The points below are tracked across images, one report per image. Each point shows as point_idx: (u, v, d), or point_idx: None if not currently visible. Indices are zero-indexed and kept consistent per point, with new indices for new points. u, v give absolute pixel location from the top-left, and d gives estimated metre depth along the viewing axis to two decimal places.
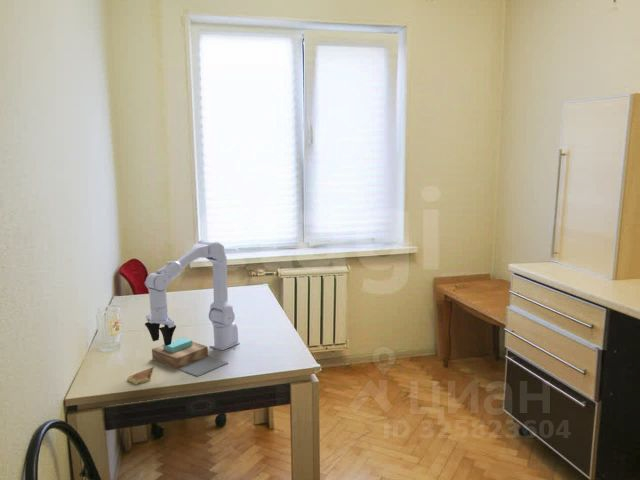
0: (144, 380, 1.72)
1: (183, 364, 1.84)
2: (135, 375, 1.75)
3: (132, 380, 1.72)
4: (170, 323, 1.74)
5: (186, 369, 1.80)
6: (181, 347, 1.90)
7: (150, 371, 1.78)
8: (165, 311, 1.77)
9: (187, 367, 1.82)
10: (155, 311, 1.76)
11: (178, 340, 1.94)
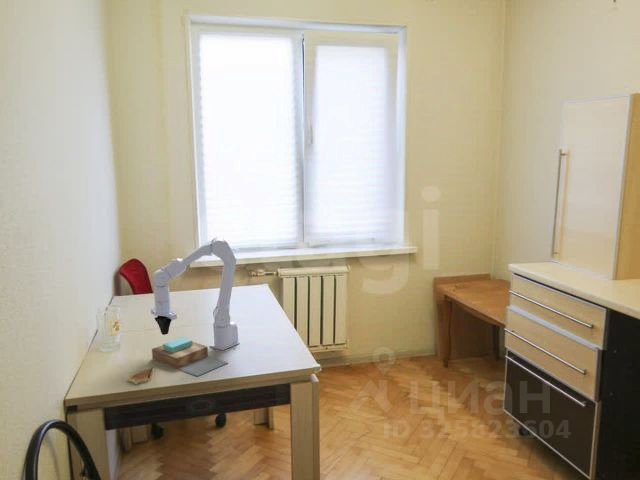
0: (144, 380, 1.72)
1: (183, 364, 1.84)
2: (135, 375, 1.75)
3: (132, 380, 1.72)
4: (173, 316, 1.90)
5: (186, 369, 1.80)
6: (181, 347, 1.90)
7: (150, 371, 1.78)
8: (168, 305, 1.94)
9: (187, 367, 1.82)
10: (159, 305, 1.92)
11: (178, 340, 1.94)
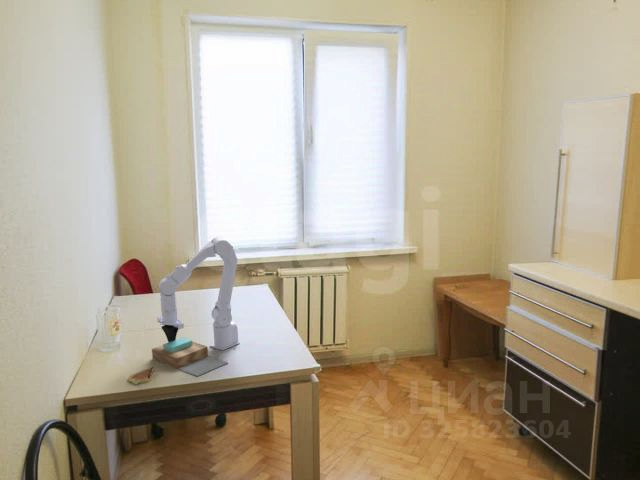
0: (144, 380, 1.72)
1: (183, 364, 1.84)
2: (135, 375, 1.75)
3: (132, 380, 1.72)
4: (180, 325, 1.88)
5: (186, 369, 1.80)
6: (181, 347, 1.90)
7: (150, 371, 1.78)
8: (175, 314, 1.92)
9: (187, 367, 1.82)
10: (166, 314, 1.90)
11: (178, 340, 1.94)
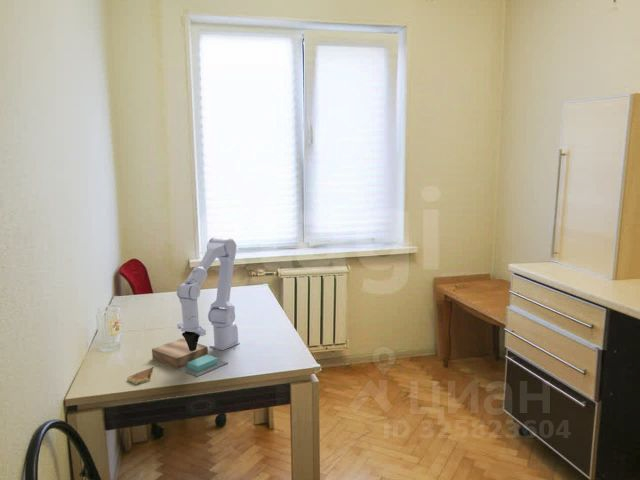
0: (144, 380, 1.72)
1: (183, 364, 1.84)
2: (135, 375, 1.75)
3: (132, 380, 1.72)
4: (202, 331, 1.80)
5: (186, 369, 1.80)
6: None
7: (150, 371, 1.78)
8: (196, 320, 1.83)
9: (187, 367, 1.82)
10: (187, 320, 1.81)
11: None
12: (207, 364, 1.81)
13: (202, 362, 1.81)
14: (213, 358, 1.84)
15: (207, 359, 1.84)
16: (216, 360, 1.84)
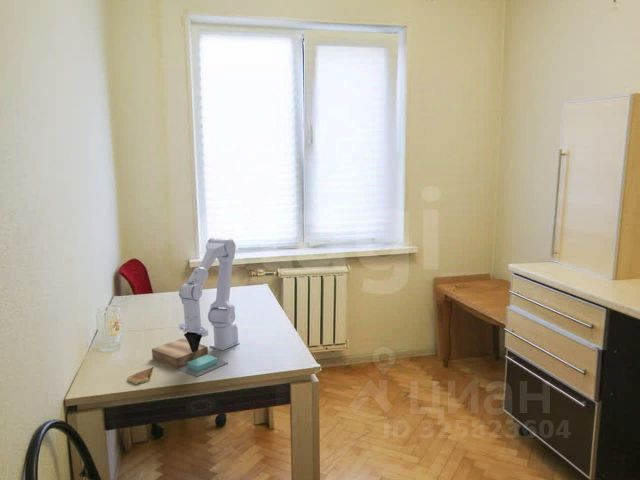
0: (144, 380, 1.72)
1: (183, 364, 1.84)
2: (135, 375, 1.75)
3: (132, 380, 1.72)
4: (204, 332, 1.79)
5: (186, 369, 1.80)
6: None
7: (150, 371, 1.78)
8: (199, 320, 1.82)
9: (187, 367, 1.82)
10: (189, 320, 1.81)
11: None
12: (207, 364, 1.81)
13: (202, 362, 1.81)
14: (213, 358, 1.84)
15: (207, 359, 1.84)
16: (216, 360, 1.84)
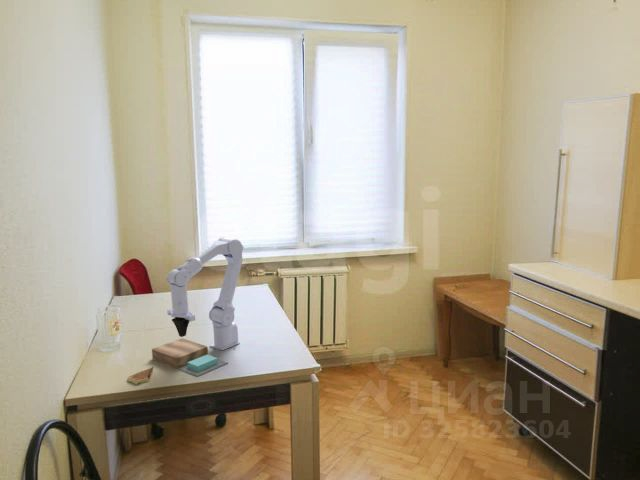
0: (144, 380, 1.72)
1: (183, 364, 1.84)
2: (135, 375, 1.75)
3: (132, 380, 1.72)
4: (191, 317, 1.83)
5: (186, 369, 1.80)
6: None
7: (150, 371, 1.78)
8: (186, 306, 1.86)
9: (187, 367, 1.82)
10: (177, 306, 1.84)
11: None
12: (207, 364, 1.81)
13: (202, 362, 1.81)
14: (213, 358, 1.84)
15: (207, 359, 1.84)
16: (216, 360, 1.84)
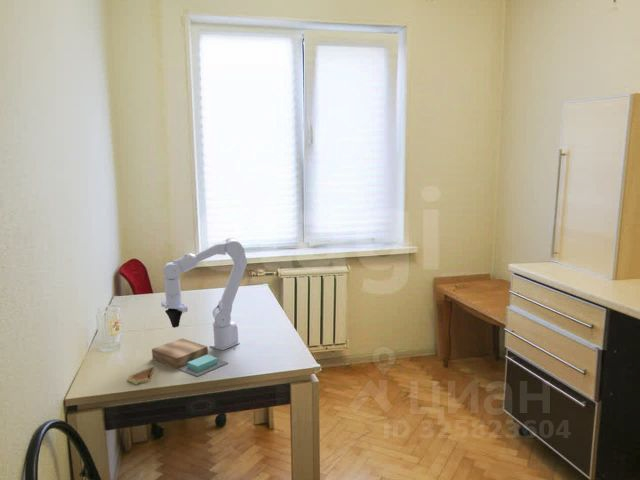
0: (144, 380, 1.72)
1: (183, 364, 1.84)
2: (135, 375, 1.75)
3: (132, 380, 1.72)
4: (184, 308, 1.90)
5: (186, 369, 1.80)
6: None
7: (150, 371, 1.78)
8: (179, 297, 1.94)
9: (187, 367, 1.82)
10: (170, 297, 1.92)
11: None
12: (207, 364, 1.81)
13: (202, 362, 1.81)
14: (213, 358, 1.84)
15: (207, 359, 1.84)
16: (216, 360, 1.84)
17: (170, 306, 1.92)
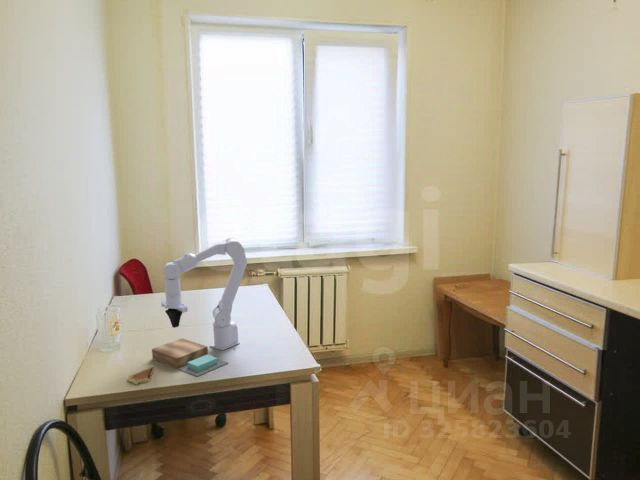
0: (144, 380, 1.72)
1: (183, 364, 1.84)
2: (135, 375, 1.75)
3: (132, 380, 1.72)
4: (184, 308, 1.90)
5: (186, 369, 1.80)
6: None
7: (150, 371, 1.78)
8: (179, 297, 1.94)
9: (187, 367, 1.82)
10: (170, 297, 1.92)
11: None
12: (207, 364, 1.81)
13: (202, 362, 1.81)
14: (213, 358, 1.84)
15: (207, 359, 1.84)
16: (216, 360, 1.84)
17: (170, 306, 1.92)
